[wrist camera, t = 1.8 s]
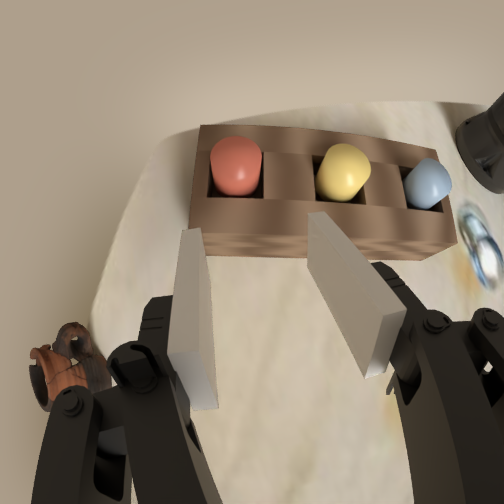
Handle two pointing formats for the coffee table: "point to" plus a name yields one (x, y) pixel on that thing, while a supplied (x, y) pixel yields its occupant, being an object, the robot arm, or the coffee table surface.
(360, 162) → the mustard button
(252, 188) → the red button
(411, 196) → the slate button
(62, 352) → the pottery mug
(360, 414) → the coffee table surface
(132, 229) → the coffee table surface
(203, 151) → the console
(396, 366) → the robot arm
